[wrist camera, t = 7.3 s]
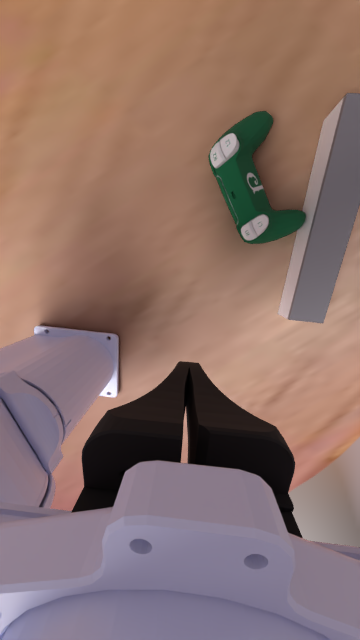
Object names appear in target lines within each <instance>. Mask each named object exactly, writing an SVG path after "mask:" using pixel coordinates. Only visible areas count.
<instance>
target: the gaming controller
mask: <svg viewBox="0 0 360 640" xmlns="http://www.w3.org/2000/svg"><path fill="white" fill-rule="evenodd" d="M272 124H273V118H272V116H271V115H270V114H269V113H268V112H267V111H260V112H255V113H253V114H252V115H250V116H248V117H246V118H245V119H243V120H242V121H240V122H238V123H237V124H235V125H234V126H233V127H232V128H230V129H229V130H228V131H227V132H226V133H224V134H223V135H222V136H221V137H220V138H219V139H218V141H217V142H216V143H215V144H214V146H213V147H212V149H211V151H210V153H209V162H210V166H211V168H212V171H213V174H214V176H215V177H216V179H217V181H218V184H219V187H220V189H221V192H222V194H223V196H224V199H225V201H226V203H227V205H228V208H229V210H230V212H231V215H232V217H233V219H234V221H235V224H237V226H236V227H237V230H238V232H239V234H240V236H241V238H242V239H243V240H244V242H246V243H250V244H260V243H266V242H270V241H274V240H277V239H279V238H282V237H284V236H287V235H289V234H291V233H293V232H295V231H296V230H298V229H300V228H301V227H302V226H303V224H304V222H305V219H306V214H305V212H303V211H299V210H280V211H275V210H272V208H271V207H270V204H269V202H268V199H267V196H266V194H265V191H264V188H263V186H262V183H261V181H260V178H259V175H258V173H257V170H256V167H255V165H254V162H253V159H252V154H253V153H254V152H255V150H256V149H257V148H258V147H259V146H260V145H261V144H262V142H263V141H264V140H265V138H266V136H267V134H268V132H269V130H270V128H271V126H272Z"/></svg>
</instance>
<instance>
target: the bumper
mask: <svg viewBox="0 0 360 640" xmlns="http://www.w3.org/2000/svg"><path fill="white" fill-rule="evenodd" d="M359 205H360V94H357V93H347V94H346V95H345V96H344V97H343V99H342V100H341V101H340V102H339V103H338V104H337V105H336V107H335V108H334V109H333V110H332V111H331V112H330V114H329V115H328V116H327V117H326V118H325V119H324V121H323V125H322V129H321V133H320V138H319V142H318V146H317V150H316V155H315V159H314V163H313V167H312V171H311V176H310V180H309V184H308V188H307V192H306V197H305V201H304V205H303V209H302V211H303V212H305V214H306V219H305V222H304V224H303V226H302V227H301V228H300V229H298V230H297V235H296V239H295V243H294V247H293V251H292V256H291V260H290V264H289V268H288V273H287V277H286V281H285V285H284V289H283V294H282V298H281V302H280V306H279V311H278V315H280V316H283V317H285V318H287V319H289V320H297V321H306V322H316V323H323V322H324V319H325V316H326V312H327V309H328V306H329V303H330V299H331V296H332V293H333V290H334V286H335V283H336V280H337V277H338V273H339V270H340V267H341V264H342V260H343V257H344V254H345V251H346V247H347V244H348V241H349V238H350V234H351V231H352V228H353V225H354V221H355V218H356V215H357V212H358V208H359Z"/></svg>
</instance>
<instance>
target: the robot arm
mask: <svg viewBox="0 0 360 640" xmlns="http://www.w3.org/2000/svg"><path fill="white" fill-rule="evenodd" d="M47 330H48V331H49V332H48V331H47ZM34 334H35V335H34V336H31V337H29V338H26V339H24V340H21V341H19V342H16V343H14V344H11V345H8V346H6V347H3V348H1V349H0V640H360V547H354V546H346V545H338V544H330V543H322V542H314V541H308V540H305V539H303V538H302V535H301V533H300V531H299V528H298V526H297V524H296V521H295V519H294V517H293V514H292V512H293V509H294V507H293V504H292V501H291V499H290V497H289V494H288V491H289V487H290V484H291V481H292V477H293V474H294V469H295V461H294V457H293V454H292V452H291V451H290V449H289V447H288V445H287V443H286V442H285V440H284V438H283V437H282V435H281V434H280V432H279V431H278V429H277V428H276V427H275V426H273V425H271V424H269V423H267V422H265V421H263V420H261V419H259V418H257V417H256V416H254V415H252V414H250V413H249V412H247V411H245V410H244V409H242V408H241V407H239V406H238V405H237V404H235V403H234V402H233V401H231V400H230V399H229V398H227V397H226V396H225V395H224V394H223V393H222V392H221V391H220V390H219V389H218V388H217V387H216V386H215V385H214V384H213V383H212V382H211V380H210V379H209V378H208V376H207V375H206V374H205V372H204V371H203V369H202V367H201V366H200V364H199V363H192V362H181V361H180V362H178V364H177V365H176V367H175V368H174V370H173V371H172V372H171V373H170V374H169V376H168V377H167V378H166V379H165V380H164V381H163V382H162V383H161V384H159V385H158V386H157V387H156V388H155V389H153V390H152V391H150V392H149V393H147V394H145V395H144V396H142V397H140V398H138V399H136V400H134V401H132V402H130V403H127V404H125V405H122V406H119V407H117V408H114V409H111V410H108V411H107V413H106V414H105V415H104V416H103V418H102V419H101V420H100V421H99V423H98V424H97V426H96V427H95V429H94V430H93V432H92V434H91V435H90V437H89V438H88V440H87V442H86V443H85V446H84V448H83V450H82V466H83V476H84V488H83V490H82V492H81V494H80V496H79V498H78V500H77V502H76V504H75V506H74V508H73V510H72V511H66V510H58V509H50V507H51V505H52V502H53V498H54V495H55V489H56V486H55V480H54V477H53V476H52V472H53V471H54V469H55V468H56V467H57V465H58V464H59V462H60V461H61V459H62V458H63V455H62V452H61V445H62V444H63V442H64V441H65V440H66V438H67V437H68V436H69V434H70V433H71V432H72V430H73V429H74V428H75V426H76V425H77V424H78V423H79V421H80V420H81V419H82V417H83V416H84V415H85V413H86V412H87V411H88V409H89V408H90V407H91V405H92V404H93V403H94V401H95V400H96V399H97V397H98V396H107V397H116V396H117V395H118V368H119V337H118V335H116V334H113V333H104V332H94V331H85V330H76V329H67V328H58V327H49V326H36V327H35V328H34ZM108 336H109V337H110V338H111V339H108ZM109 392H111V393H109ZM185 407H186V413H187V429H188V464H187V463H181V451H182V439H183V420H184V414H185ZM291 511H292V512H291Z"/></svg>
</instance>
